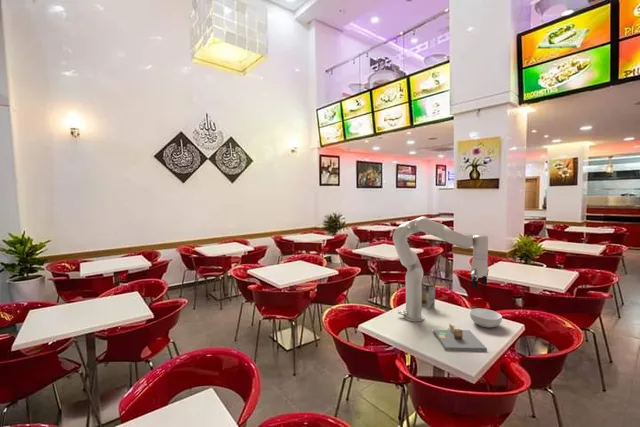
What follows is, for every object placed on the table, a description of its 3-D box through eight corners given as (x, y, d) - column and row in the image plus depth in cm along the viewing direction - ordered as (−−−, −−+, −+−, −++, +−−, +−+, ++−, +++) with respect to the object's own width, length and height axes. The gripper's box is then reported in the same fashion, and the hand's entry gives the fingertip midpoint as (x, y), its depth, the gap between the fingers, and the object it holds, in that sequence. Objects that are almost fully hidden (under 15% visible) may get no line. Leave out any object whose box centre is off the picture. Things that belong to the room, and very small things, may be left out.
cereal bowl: (494, 334, 169) (495, 321, 169) (464, 324, 182) (465, 312, 181) (506, 325, 180) (506, 313, 179) (477, 316, 193) (477, 306, 192)
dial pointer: (463, 339, 159) (463, 332, 159) (455, 339, 159) (455, 332, 159) (454, 328, 172) (454, 321, 172) (446, 328, 172) (447, 321, 172)
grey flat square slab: (445, 350, 152) (445, 347, 152) (433, 332, 172) (433, 329, 172) (486, 351, 151) (486, 347, 151) (469, 332, 171) (469, 330, 171)
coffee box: (418, 305, 214) (418, 282, 213) (425, 303, 217) (425, 281, 216) (427, 309, 206) (428, 286, 205) (435, 307, 208) (435, 284, 207)
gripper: (481, 253, 182) (480, 281, 183) (465, 257, 172) (464, 287, 173) (494, 255, 176) (493, 284, 177) (478, 259, 166) (477, 290, 167)
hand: (479, 285), depth 175 cm, fingers open, 9 cm apart
